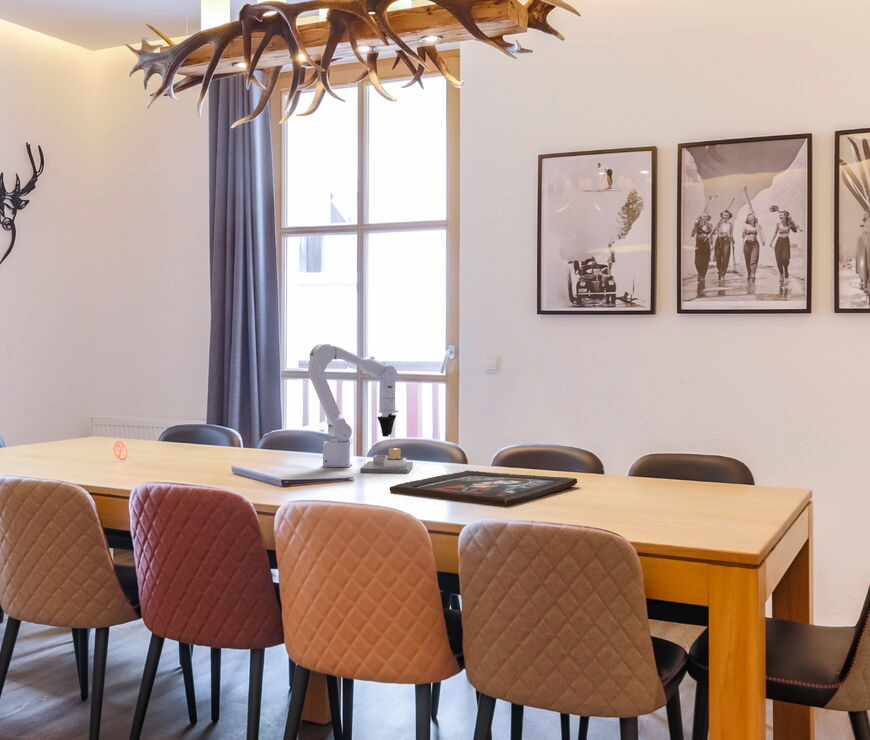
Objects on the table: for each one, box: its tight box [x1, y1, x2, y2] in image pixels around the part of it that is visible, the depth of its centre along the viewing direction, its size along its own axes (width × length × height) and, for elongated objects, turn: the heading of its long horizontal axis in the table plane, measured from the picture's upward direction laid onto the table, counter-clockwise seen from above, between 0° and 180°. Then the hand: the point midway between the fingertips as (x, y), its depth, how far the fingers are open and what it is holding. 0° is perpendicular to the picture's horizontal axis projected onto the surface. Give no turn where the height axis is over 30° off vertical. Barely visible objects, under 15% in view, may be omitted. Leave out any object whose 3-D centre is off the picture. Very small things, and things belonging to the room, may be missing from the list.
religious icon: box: [389, 470, 578, 507], centre depth 259 cm, size 40×45×3 cm
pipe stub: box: [388, 447, 402, 460], centre depth 300 cm, size 4×4×6 cm
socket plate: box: [359, 454, 414, 475], centre depth 303 cm, size 16×20×4 cm
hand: (386, 435), depth 318 cm, fingers open, 7 cm apart
